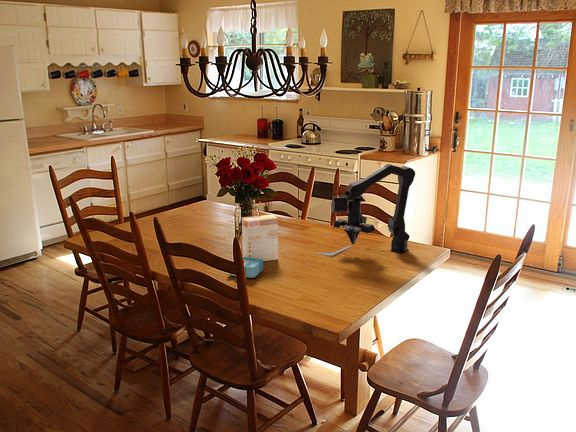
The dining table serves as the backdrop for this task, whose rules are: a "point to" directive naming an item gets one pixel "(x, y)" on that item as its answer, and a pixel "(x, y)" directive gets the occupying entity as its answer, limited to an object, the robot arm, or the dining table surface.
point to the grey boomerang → (334, 252)
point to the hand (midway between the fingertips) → (353, 244)
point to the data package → (252, 266)
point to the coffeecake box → (260, 237)
